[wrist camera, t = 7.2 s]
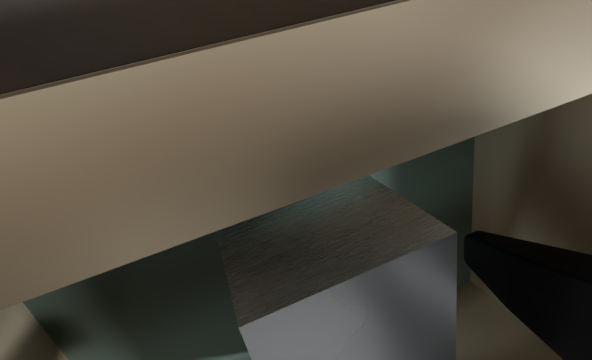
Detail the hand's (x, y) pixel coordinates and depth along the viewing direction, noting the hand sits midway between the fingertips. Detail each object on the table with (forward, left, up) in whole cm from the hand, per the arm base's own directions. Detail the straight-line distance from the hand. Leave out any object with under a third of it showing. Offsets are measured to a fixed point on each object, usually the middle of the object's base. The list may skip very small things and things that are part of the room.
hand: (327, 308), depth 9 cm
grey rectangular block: (0, 0, -2) cm, 2 cm away
